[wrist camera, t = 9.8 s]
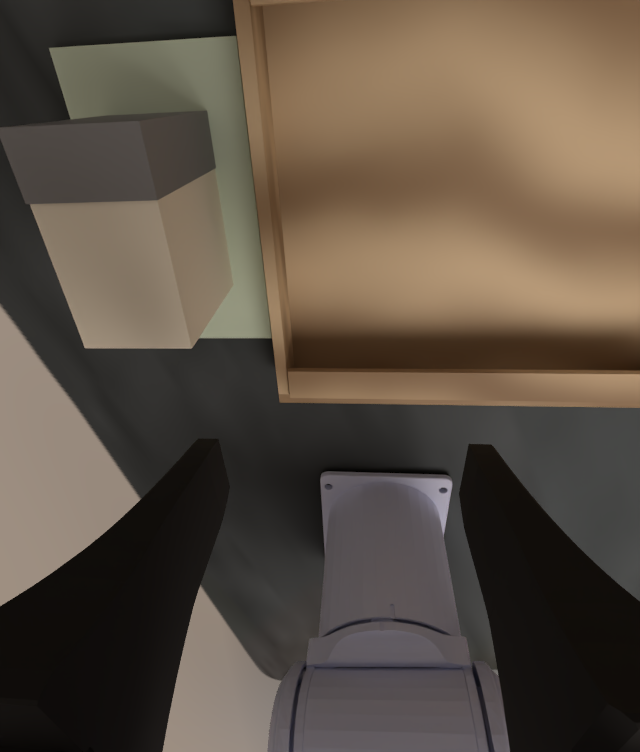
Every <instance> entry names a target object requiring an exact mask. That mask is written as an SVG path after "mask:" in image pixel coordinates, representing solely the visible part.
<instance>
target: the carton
mask: <svg viewBox="0 0 640 752" xmlns="http://www.w3.org/2000/svg"><path fill="white" fill-rule="evenodd" d="M233 6H234V15H235V23H236V32H237V40H238V49H239V58H240V66H241V75H242V83H243V92H244V100H245V109H246V118H247V126H248V135H249V143H250V152H251V160H252V169H253V178H254V186H255V195H256V203H257V212H258V220H259V229H260V238H261V246H262V255H263V263H264V272H265V280H266V289H267V298H268V306H269V315H270V323H271V332H272V340H273V349H274V357H275V366H276V375H277V383H278V392H279V400H280V402H281V403H350V404H419V405H488V406H558V407H627V408H640V0H233Z"/></svg>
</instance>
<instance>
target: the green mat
mask: <svg viewBox="0 0 640 752" xmlns="http://www.w3.org/2000/svg"><path fill="white" fill-rule="evenodd" d="M49 50H50V54H51V57H52V60H53V63H54V67H55V70H56V73H57V76H58V80H59V83H60V86H61V90H62V93H63V96H64V99H65V103H66V106H67V109H68V112H69V116H70V119H79V118H88V117H97V116H106V115H127V114H147V113H167V112H188V111H207V113H208V119H209V126H210V132H211V138H212V145H213V151H214V157H215V164H216V168H215V171H216V178H217V184H218V190H219V196H220V203H221V209H222V215H223V222H224V228H225V234H226V240H227V247H228V253H229V259H230V266H231V272H232V278H233V284H234V285H233V287H232V288H231V290H230V291H229V293H228V294H227V296H226V297H225V299H224V300H223V302H222V303H221V305H220V306H219V308H218V310H217V311H216V313H215V314H214V316H213V317H212V319H211V320H210V322H209V323H208V325H207V326H206V328H205V329H204V331H203V332H202V334H201V335H200V337H199V338H272V332H271V323H270V315H269V306H268V298H267V289H266V280H265V272H264V263H263V255H262V246H261V238H260V229H259V220H258V212H257V203H256V195H255V186H254V178H253V169H252V160H251V152H250V143H249V135H248V126H247V118H246V109H245V100H244V92H243V83H242V75H241V66H240V58H239V49H238V40H237V36H225V37H210V38H195V39H179V40H164V41H149V42H133V43H118V44H103V45H87V46H72V47H57V48H49Z"/></svg>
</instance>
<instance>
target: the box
mask: <svg viewBox="0 0 640 752" xmlns="http://www.w3.org/2000/svg"><path fill="white" fill-rule="evenodd" d="M0 139H1V142H2V144H3V147H4V149H5V152H6V155H7V157H8V160H9V162H10V165H11V167H12V170H13V173H14V175H15V178H16V180H17V183H18V185H19V188H20V191H21V193H22V196H23V198H24V201H25V203H26V204H30V206H31V209H32V211H33V214H34V217H35V219H36V222H37V224H38V227H39V230H40V232H41V235H42V237H43V240H44V243H45V245H46V248H47V250H48V253H49V256H50V258H51V261H52V263H53V266H54V269H55V271H56V274H57V276H58V279H59V282H60V284H61V287H62V289H63V292H64V295H65V297H66V300H67V302H68V305H69V308H70V310H71V313H72V315H73V318H74V321H75V323H76V326H77V328H78V331H79V334H80V336H81V339H82V341H83V344H84V347H85V348H171V349H192V348H193V346H194V345H195V343H196V342H197V340H198V338H199V337H200V335H201V334H202V332H203V331H204V329H205V328H206V326H207V325H208V323H209V322H210V320H211V319H212V317H213V316H214V314H215V313H216V311H217V310H218V308H219V306H220V305H221V303H222V302H223V300H224V299H225V297H226V296H227V294H228V293H229V291H230V290H231V288H232V287H233V285H234V284H233V278H232V272H231V266H230V259H229V253H228V247H227V240H226V234H225V228H224V222H223V215H222V209H221V203H220V196H219V190H218V184H217V178H216V171H215V168H216V164H215V157H214V151H213V145H212V138H211V132H210V126H209V119H208V113H207V111H188V112H167V113H147V114H127V115H106V116H97V117H88V118H79V119H70V120H61V121H52V122H43V123H34V124H25V125H17V126H8V127H0Z"/></svg>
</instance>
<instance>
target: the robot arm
mask: <svg viewBox="0 0 640 752" xmlns="http://www.w3.org/2000/svg"><path fill="white" fill-rule="evenodd" d="M320 484H321V500H322V517H323V533H324V549H325V567H324V579H323V591H322V603H321V615H320V627H319V638H310V639H309V644H308V654H307V661H298V662H295V663H294V664H293V665H292V666H291V668H290V670H289V671H288V673H287V674H286V676H285V677H284V678H283V679H282V681H281V683H280V685H279V688H278V691H277V694H276V697H275V701H274V705H273V710H272V717H271V722H270V730H269V740H268V752H640V601H638V600H637V599H636V598H635V597H633V596H632V595H631V594H630V593H629V592H627V591H626V590H625V589H624V588H622V587H621V586H620V585H619V584H618V583H616V582H615V581H614V580H613V579H612V578H611V577H610V576H609V575H607V574H606V573H605V572H604V571H603V570H602V569H601V568H600V567H599V566H598V565H597V564H595V563H594V562H593V561H592V560H591V559H590V558H589V557H588V556H587V555H586V554H585V553H584V552H583V551H582V550H581V549H580V548H579V547H578V546H577V545H576V544H575V543H574V542H573V541H572V540H571V539H570V538H569V537H568V536H567V535H566V534H565V533H564V532H563V531H562V530H561V528H560V527H559V526H558V525H557V524H556V523H555V522H554V521H553V520H552V519H551V518H550V516H549V515H548V514H547V513H546V512H545V511H544V510H543V508H542V507H541V506H540V505H539V504H538V503H537V501H536V500H535V499H534V498H533V497H532V496H531V494H530V493H529V492H528V491H527V489H526V488H525V487H524V486H523V485H522V483H521V482H520V481H519V479H518V478H517V477H516V476H515V474H514V473H513V472H512V471H511V469H510V468H509V467H508V465H507V464H506V463H505V461H504V460H503V459H502V457H501V456H500V455H499V453H498V452H497V451H496V449H495V448H494V447H493V446H492V445H485V444H469V446H468V451H467V456H466V461H465V466H464V471H463V477H462V482H461V487H460V492H459V496H460V503H461V510H462V517H463V523H464V529H465V533H466V536H467V540H468V544H469V548H470V551H471V555H472V559H473V562H474V566H475V569H476V573H477V577H478V580H479V584H480V587H481V591H482V595H483V598H484V602H485V606H486V610H487V614H488V618H489V623H490V628H491V634H492V640H493V645H494V651H495V656H496V662H497V668H498V675H499V676H498V675H497V674H495V673H494V672H493V671H492V670H491V669H490V667H489V666H488V664H487V663H486V662H483V661H473V663H472V666H471V661H470V655H469V650H468V645H467V639H466V638H465V637H461V633H460V627H459V622H458V616H457V610H456V605H455V599H454V593H453V588H452V582H451V577H450V571H449V565H448V560H447V554H446V548H445V543H444V531H445V525H446V519H447V513H448V507H449V502H450V496H451V490H452V479H451V477H450V476H448V475H438V474H404V473H369V472H335V471H327V472H324V473H322V474H321V478H320ZM327 484H331V485H327ZM229 488H230V486H229V482H228V477H227V473H226V469H225V465H224V460H223V456H222V452H221V448H220V444H219V439H198V440H197V441H196V442H195V443H194V444H193V445H192V446H191V447H190V448H189V449H188V450H187V451H186V452H185V454H184V455H183V456H182V457H181V458H180V459H179V460H178V461H177V462H176V464H175V465H174V466H173V467H172V468H171V469H170V470H169V471H168V472H167V473H166V474H165V475H164V476H163V477H162V479H161V480H160V481H159V482H158V483H157V484H156V485H155V486H154V487H153V488H152V489H151V490H150V491H149V492H148V493H147V494H146V495H145V496H144V497H143V498H142V499H141V500H140V501H139V502H138V503H137V504H136V505H135V506H134V507H133V508H132V509H131V510H130V511H129V512H127V513H126V514H125V515H124V516H123V517H122V518H121V519H120V520H119V521H118V522H117V523H115V524H114V525H113V526H112V527H111V528H110V529H109V530H107V531H106V532H105V533H104V534H103V535H102V536H100V537H99V538H98V539H97V540H95V541H94V542H93V543H92V544H91V545H90V546H88V547H87V548H85V549H84V550H83V551H82V552H80V553H79V554H77V555H76V556H75V557H73V558H72V559H71V560H69V561H68V562H66V563H65V564H64V565H62V566H61V567H60V568H58V569H57V570H56V571H54V572H53V573H51V574H50V575H48V576H47V577H46V578H44V579H42V580H41V581H40V582H38V583H36V584H35V585H34V586H32V587H30V588H29V589H27V590H26V591H24V592H23V593H21V594H19V595H18V596H16V597H15V598H13V599H12V600H10V601H8V602H7V603H5V604H3V605H2V606H0V752H162V751H163V745H164V740H165V734H166V729H167V723H168V718H169V713H170V708H171V703H172V698H173V693H174V688H175V683H176V678H177V674H178V669H179V665H180V660H181V656H182V651H183V647H184V643H185V638H186V634H187V630H188V626H189V622H190V618H191V614H192V609H193V606H194V603H195V599H196V596H197V593H198V589H199V587H200V584H201V581H202V578H203V575H204V572H205V569H206V567H207V564H208V561H209V558H210V555H211V552H212V549H213V547H214V544H215V541H216V538H217V535H218V532H219V529H220V526H221V523H222V520H223V516H224V512H225V507H226V503H227V498H228V493H229ZM441 488H443V489H441ZM471 667H472V668H471Z"/></svg>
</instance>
